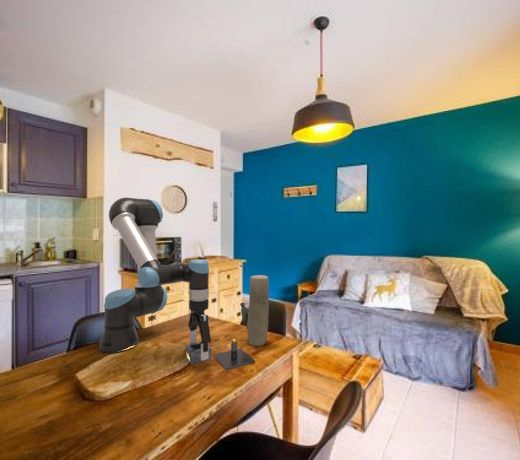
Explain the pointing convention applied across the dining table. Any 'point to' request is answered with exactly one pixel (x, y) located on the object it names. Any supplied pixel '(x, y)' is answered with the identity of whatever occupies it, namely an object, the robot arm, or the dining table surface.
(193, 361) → the grey square hollow block
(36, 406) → the dining table surface
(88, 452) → the dining table surface
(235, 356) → the post
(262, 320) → the decorative sculpture
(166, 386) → the dining table surface
